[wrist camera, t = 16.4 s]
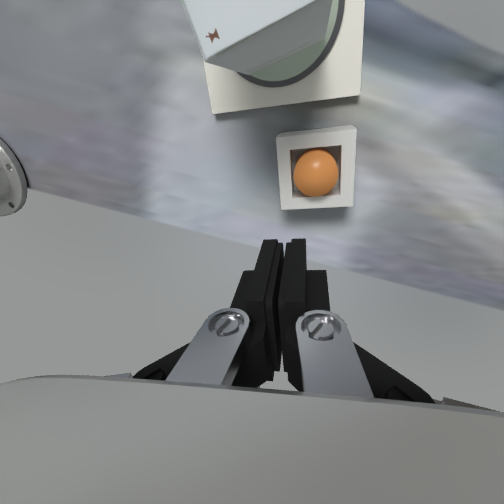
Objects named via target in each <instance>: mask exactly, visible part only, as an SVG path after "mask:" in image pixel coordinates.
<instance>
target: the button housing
mask: <svg viewBox="0 0 504 504" xmlns="http://www.w3.org/2000/svg"><path fill="white" fill-rule="evenodd" d="M356 131H357V129H356V128H355V127H354V126H353V125H347V126H338V127H329V128H320V129H310V130H301V131H292V132H283V133H279V134H278V135H277V137H276V147H277V160H278V173H279V186H280V199H281V210H289V209H309V208H329V207H350V206H353V194H354V173H355V152H356ZM316 147H321V148H324V149H326V150H328V151H329V152H330V153H331V154H332V155H333V156H334V158H335V161H336V164H337V167H338V179H337V182H336V184H335V186H334V187H333V188H332V189H331V190H330V191H329V192H328V193H326V194H324V195H322V196H316V197H313V196H308V195H305V194H304V193H302V192H301V191H300V190H299V189H298V188H297V186H296V184H295V182H294V170H295V166H296V162H297V160H298V158H299V156H300V155H301V154H302V153H303V152H304V151H306V150H307V149H310V148H316Z"/></svg>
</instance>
